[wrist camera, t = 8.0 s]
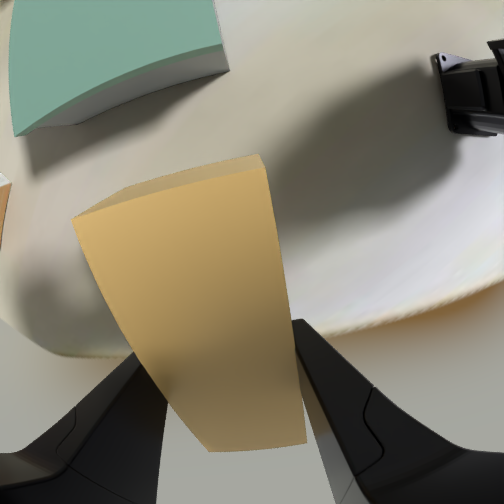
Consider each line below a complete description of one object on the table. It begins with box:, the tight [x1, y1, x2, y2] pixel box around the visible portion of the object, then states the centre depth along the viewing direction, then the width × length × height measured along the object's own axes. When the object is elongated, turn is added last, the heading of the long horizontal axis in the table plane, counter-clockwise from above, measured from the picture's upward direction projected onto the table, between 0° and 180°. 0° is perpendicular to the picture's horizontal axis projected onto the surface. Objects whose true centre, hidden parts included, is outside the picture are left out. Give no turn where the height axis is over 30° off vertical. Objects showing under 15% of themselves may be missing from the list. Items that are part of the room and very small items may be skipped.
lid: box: [9, 0, 223, 137], centre depth 7 cm, size 11×10×1 cm
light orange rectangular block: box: [71, 154, 307, 452], centre depth 8 cm, size 4×10×3 cm, turn 11°
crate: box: [37, 0, 230, 128], centre depth 10 cm, size 11×10×5 cm
